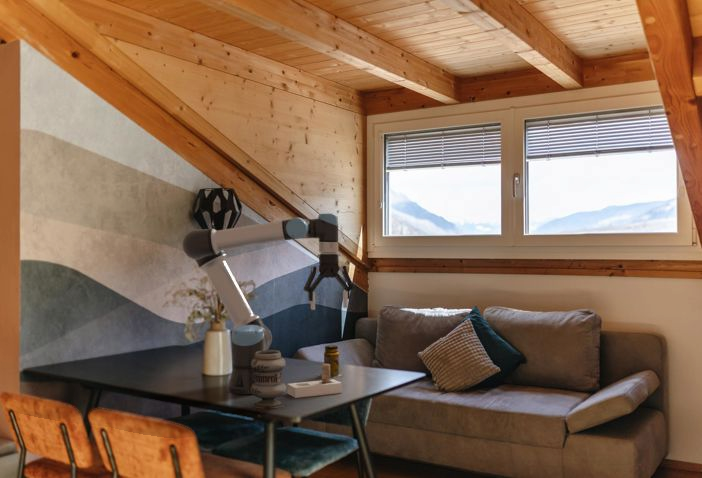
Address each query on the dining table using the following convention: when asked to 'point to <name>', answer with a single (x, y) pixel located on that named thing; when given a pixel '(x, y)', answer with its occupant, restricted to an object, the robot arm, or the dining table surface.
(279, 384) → the apothecary jar
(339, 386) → the hole block
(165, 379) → the dining table surface
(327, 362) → the condiment
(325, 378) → the dowel
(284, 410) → the dining table surface
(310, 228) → the robot arm
